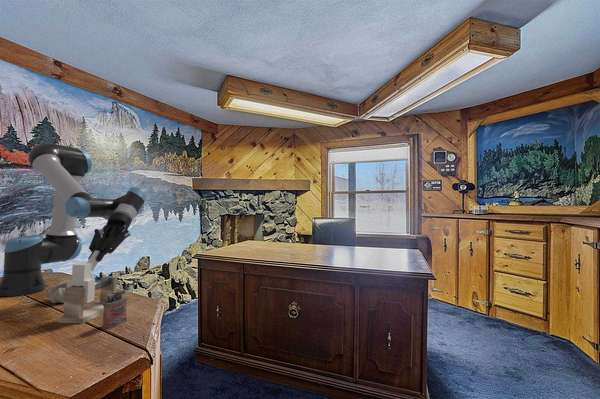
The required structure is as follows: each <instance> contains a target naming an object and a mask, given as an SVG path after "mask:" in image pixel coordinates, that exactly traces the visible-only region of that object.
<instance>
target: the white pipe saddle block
mask: <svg viewBox="0 0 600 399" xmlns="http://www.w3.org/2000/svg"><path fill="white" fill-rule="evenodd" d="M91 267H92V264H90V263H87V262H86V263H85V262H83V263H82V262H81V263H75V264H72V268H71V269H72V270H71V278H70V279H71V280H68V279H66V280H67V288H68V287H79V286H83V287H84V304H90V303H91V302H92V303H93V302H94V301H95V292H96V290H95V281H96V279H95V278H92V271H91Z"/></svg>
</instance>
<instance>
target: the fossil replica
mask: <svg viewBox="0 0 600 399" xmlns="http://www.w3.org/2000/svg"><path fill="white" fill-rule="evenodd" d="M71 279H72V278H69V279H65V280H62V281H61V282H59V283H57V284H55V285H53V286H52V287H51V288H50V290H47V292H46V295H45V297H46V298H48V300H49V301H50V302H51V303H52V304H57V303H58V304H59V303H61V304H64V297H65V288H67V280H71Z"/></svg>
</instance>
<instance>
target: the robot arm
mask: <svg viewBox="0 0 600 399" xmlns="http://www.w3.org/2000/svg"><path fill="white" fill-rule="evenodd" d="M27 157H28V158H27V159H28V163H29V165H30V167H31V169H33V170H34V171H35V172H36V173H39V174H41V175H42V176H43V177H44V178H45V180H46V181H47V182H48V183H49V184H50V185H51V186H52V187H53V188H54V189H55V190H54V191H55V192H54V199H53V200H54V201H53V206H52V213H51V214H52V215H51V223H50V229H49V230H47V232H45V236H43V235H42V234H32V235H22V236H17V237H12V238H9V239H8V240H7V241H6V242H5V246H4V251H3V252H4V259H3V274H2V277H1V279H0V297H17V296H25V295H30V294H35V293H39V292H42V291H44V290H46V282H45V279H44V277H43V273H42V265H46V264H54V263H61V262H62V263H65V262H67V261H72V260H75V259H76V258H77V257H78V256H79V255H80V253H82V252H81V251H82V248H83V242H82V239H81V237H80V236H78V232H76V230H75V224H76V218H81V219H82V218H103V219H106V220H107V222H106V224H105V225H104V226H103V227H102V228H100V229H99V228H95V229H94V230H93V231H94V234H93V237H92V238H91V241H90V244H89V247H88V249H89V251H90V252H91V254H90V255H89V257H88V261H86V263H90V264H92V267H91V272H93V271H94V270H95V268H96V266H97V265H98V263H100V262H101V261H102V260H103V258H104V257H105V256H106V255H107V254H112V253H114V252H115V251H116V250H117V248H118V247H119V246H120V245H122V243H123V242H124V241H125V240H126V238H128V237H130V236H131V232H130V231H129V228H130V226H131V224H132V222H133V220H134V219H135V218H136V216H137V214H138V213H139V211H140V210H141V208H142V207H143V205H144V204H145V202H146V200H147V198H148V195H147V193H146V191H145V190H144V189H143V188H141V187H137V186H134V187H131V188H129V189H128V190H127V192H126V193H125V194H123V195H122V196H119V197H116V198H113V199H110V198H96V197H95V198H93V196H91V195H90V194H89V193H88V192H87V191H86V189H84V188H83V186H82V185H81V183H80V182H81V180H83V179H84V178H85V175H87V174H88V173H90V171H91V170H92V168H93V167H92V166H93V161H92V157H91V155H90V153H89V152H87V151H86V150H84V149H82V148H79V147H73V146H66V145H63V144H56V143H52V142H43V143H39V144H37V145H35V146H33V147H32V148H31V150H30V151H29V153H28V155H27Z"/></svg>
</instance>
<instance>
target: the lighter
mask: <svg viewBox="0 0 600 399" xmlns="http://www.w3.org/2000/svg"><path fill="white" fill-rule="evenodd" d="M125 294H126V290H125V289H121V290H118V291H117V292H112V293H111V294H109V295H108V296H107V299H108V301H106V302H104V303H103V306H104V312H103V314H102V315H103V316H102V324H101V329H102V330H110V329H113V328H116V327H118V326H121V325H122V324H124V323H126V322H127V321H128V320H127V318H128V317H127V307H128V306H127V305H128V296H123V295H125Z"/></svg>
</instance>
